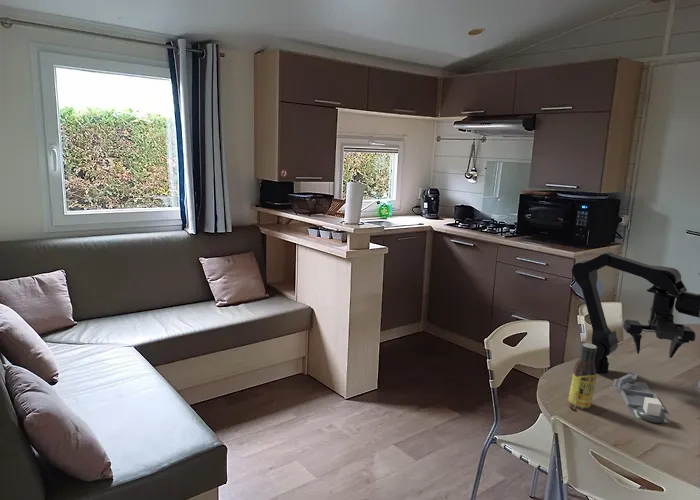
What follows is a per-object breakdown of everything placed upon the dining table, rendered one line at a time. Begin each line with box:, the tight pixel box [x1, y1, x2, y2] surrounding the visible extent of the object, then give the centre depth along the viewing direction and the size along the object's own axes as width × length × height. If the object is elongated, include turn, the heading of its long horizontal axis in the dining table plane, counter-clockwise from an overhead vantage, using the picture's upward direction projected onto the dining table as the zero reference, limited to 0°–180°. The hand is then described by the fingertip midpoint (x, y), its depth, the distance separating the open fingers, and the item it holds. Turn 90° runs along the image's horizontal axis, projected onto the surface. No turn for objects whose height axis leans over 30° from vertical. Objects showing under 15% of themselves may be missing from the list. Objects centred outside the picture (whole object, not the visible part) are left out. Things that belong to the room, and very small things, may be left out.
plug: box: [637, 397, 666, 424], centre depth 146 cm, size 7×7×5 cm
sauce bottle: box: [567, 342, 598, 411], centre depth 151 cm, size 7×6×20 cm
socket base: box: [613, 377, 672, 424], centre depth 157 cm, size 10×25×2 cm, turn 165°
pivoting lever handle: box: [613, 370, 638, 388], centre depth 164 cm, size 3×11×3 cm, turn 126°
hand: (653, 355), depth 161 cm, fingers open, 9 cm apart
